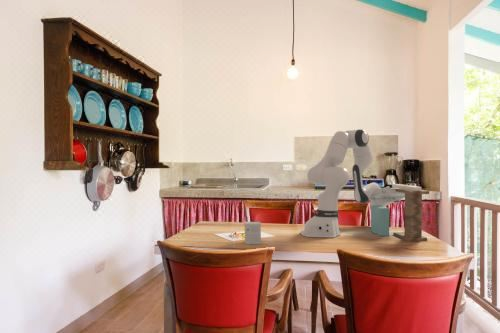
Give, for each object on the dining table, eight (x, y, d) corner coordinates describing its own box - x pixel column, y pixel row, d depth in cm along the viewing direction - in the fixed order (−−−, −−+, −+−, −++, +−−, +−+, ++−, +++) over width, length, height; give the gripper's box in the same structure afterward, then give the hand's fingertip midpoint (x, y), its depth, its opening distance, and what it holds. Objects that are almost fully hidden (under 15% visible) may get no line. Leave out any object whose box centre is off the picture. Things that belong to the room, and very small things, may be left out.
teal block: (380, 235, 183) (380, 208, 183) (370, 231, 195) (371, 205, 195) (389, 235, 184) (389, 208, 183) (378, 231, 196) (379, 205, 195)
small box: (260, 241, 170) (261, 221, 170) (260, 244, 164) (260, 223, 164) (245, 241, 170) (245, 221, 170) (244, 244, 165) (244, 223, 165)
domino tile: (414, 190, 171) (414, 187, 171) (392, 187, 193) (392, 183, 193) (421, 190, 171) (421, 186, 171) (398, 187, 193) (398, 183, 193)
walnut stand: (409, 242, 169) (410, 191, 168) (393, 235, 185) (393, 188, 184) (429, 241, 170) (430, 191, 170) (411, 234, 186) (412, 188, 185)
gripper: (368, 192, 204) (378, 182, 192) (399, 192, 206) (411, 182, 194) (371, 201, 201) (380, 192, 189) (402, 201, 203) (414, 192, 191)
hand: (396, 187), depth 191 cm, fingers open, 8 cm apart
